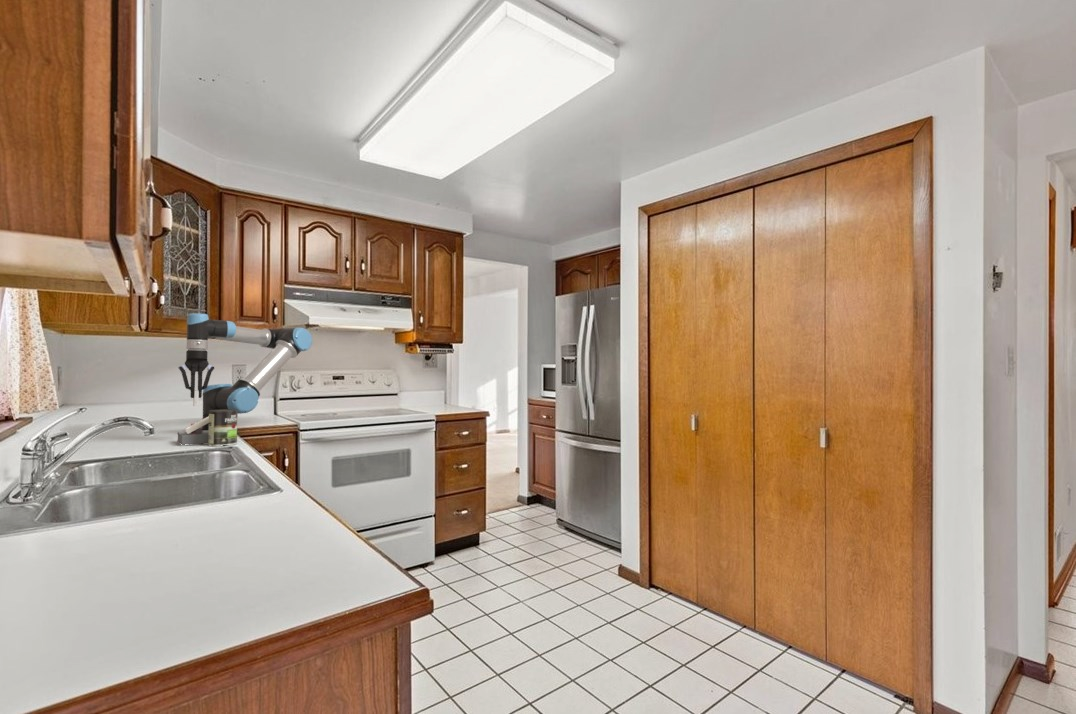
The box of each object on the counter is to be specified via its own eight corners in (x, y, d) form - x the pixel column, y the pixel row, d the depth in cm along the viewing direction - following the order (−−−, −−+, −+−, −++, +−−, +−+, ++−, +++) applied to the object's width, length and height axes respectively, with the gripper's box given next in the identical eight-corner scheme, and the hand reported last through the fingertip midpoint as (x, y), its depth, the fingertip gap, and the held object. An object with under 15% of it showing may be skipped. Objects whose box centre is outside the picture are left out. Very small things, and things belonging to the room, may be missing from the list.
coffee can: (243, 443, 218) (243, 409, 218) (223, 447, 208) (224, 411, 208) (222, 442, 220) (222, 408, 221) (201, 446, 210) (202, 410, 210)
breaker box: (177, 441, 220) (177, 427, 220) (210, 439, 228) (211, 425, 228) (182, 445, 210) (182, 430, 210) (216, 442, 218) (216, 428, 218)
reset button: (189, 432, 222) (189, 423, 222) (200, 432, 224) (200, 423, 224) (191, 433, 219) (191, 424, 219) (202, 433, 221) (202, 423, 221)
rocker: (186, 433, 216) (183, 428, 215) (211, 419, 222) (208, 415, 221) (187, 434, 213) (184, 429, 212) (212, 420, 218) (210, 416, 218)
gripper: (179, 349, 215) (178, 407, 214) (216, 350, 223) (215, 405, 223) (177, 349, 220) (176, 405, 220) (213, 350, 229) (212, 404, 228)
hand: (195, 405), depth 221 cm, fingers closed
